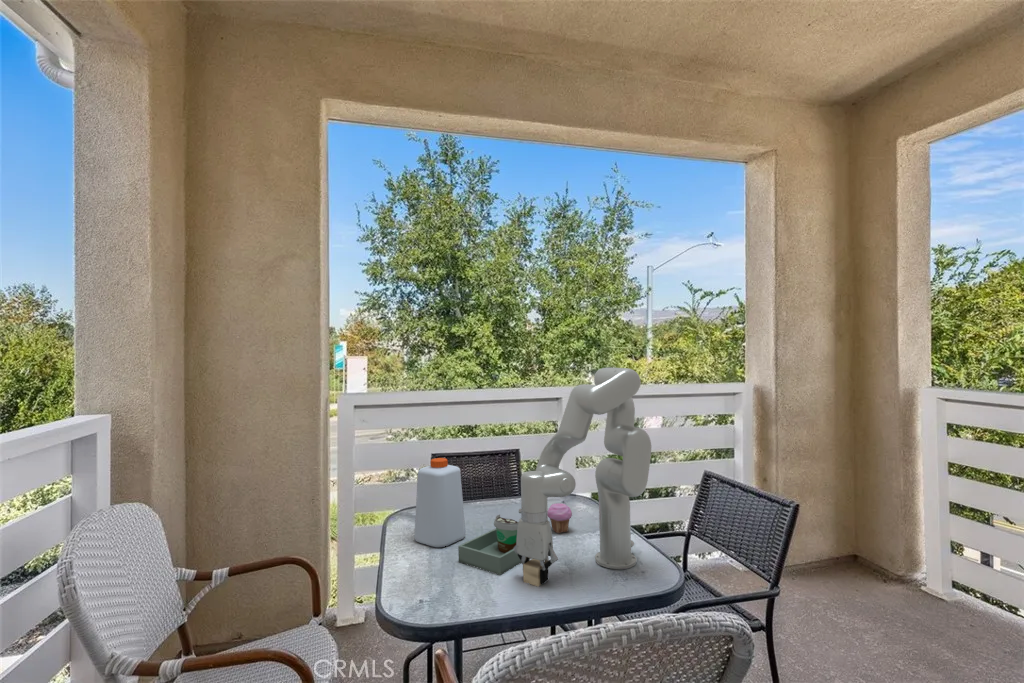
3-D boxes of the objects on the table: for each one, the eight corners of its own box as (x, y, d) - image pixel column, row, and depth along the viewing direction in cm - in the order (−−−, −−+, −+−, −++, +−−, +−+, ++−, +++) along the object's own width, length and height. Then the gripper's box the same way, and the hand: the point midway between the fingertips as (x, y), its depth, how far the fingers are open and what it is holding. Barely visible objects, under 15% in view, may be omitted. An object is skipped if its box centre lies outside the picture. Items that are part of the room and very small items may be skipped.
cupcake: (554, 537, 178) (554, 508, 179) (543, 529, 186) (542, 502, 186) (576, 533, 182) (576, 505, 182) (564, 525, 190) (563, 498, 190)
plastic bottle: (470, 536, 180) (469, 457, 181) (440, 550, 168) (439, 466, 168) (439, 528, 189) (438, 453, 190) (409, 541, 177) (408, 461, 177)
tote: (497, 542, 174) (497, 527, 175) (537, 553, 165) (537, 537, 165) (458, 561, 159) (458, 545, 159) (500, 575, 149) (500, 557, 149)
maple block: (533, 575, 148) (533, 558, 148) (547, 579, 145) (547, 562, 145) (523, 582, 144) (523, 564, 144) (538, 586, 141) (537, 568, 141)
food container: (486, 549, 166) (485, 518, 167) (499, 543, 171) (498, 513, 171) (514, 558, 158) (514, 526, 158) (527, 552, 163) (526, 521, 163)
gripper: (503, 514, 147) (504, 577, 147) (552, 525, 137) (554, 593, 137) (518, 507, 153) (519, 568, 153) (567, 517, 143) (568, 582, 143)
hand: (535, 579), depth 145 cm, fingers closed on maple block, 5 cm apart
